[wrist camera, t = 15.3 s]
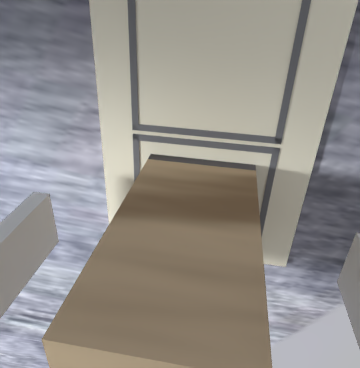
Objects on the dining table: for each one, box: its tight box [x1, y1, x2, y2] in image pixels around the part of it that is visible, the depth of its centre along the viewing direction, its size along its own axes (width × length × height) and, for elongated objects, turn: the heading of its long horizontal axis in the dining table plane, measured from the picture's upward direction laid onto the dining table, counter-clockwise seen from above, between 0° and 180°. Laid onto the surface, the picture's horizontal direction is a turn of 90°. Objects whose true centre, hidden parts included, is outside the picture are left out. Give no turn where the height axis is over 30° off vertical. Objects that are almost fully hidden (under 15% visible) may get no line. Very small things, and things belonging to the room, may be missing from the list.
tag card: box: [89, 0, 358, 267], centre depth 15 cm, size 10×14×1 cm
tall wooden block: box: [42, 154, 272, 368], centre depth 12 cm, size 5×5×10 cm
